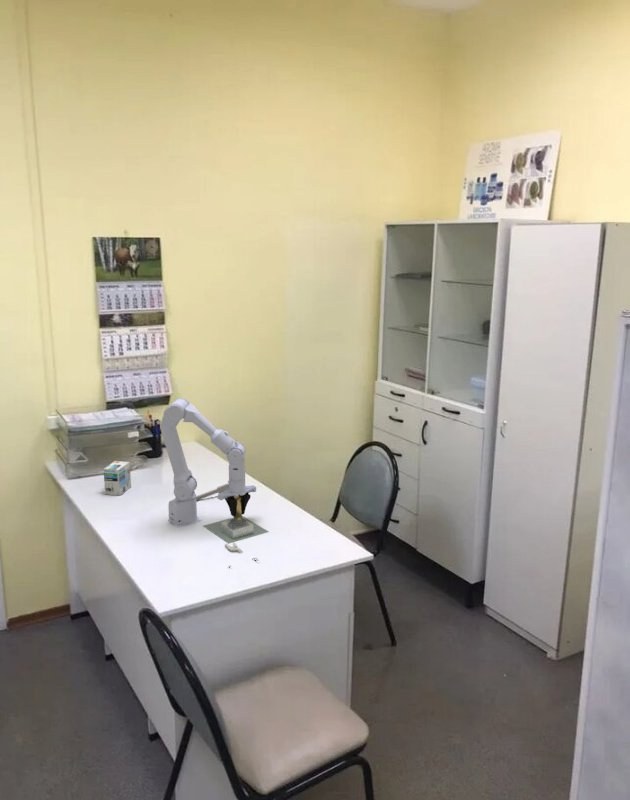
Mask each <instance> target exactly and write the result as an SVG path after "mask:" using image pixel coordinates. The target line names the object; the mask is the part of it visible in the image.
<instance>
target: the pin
mask: <svg viewBox="0 0 630 800" xmlns="http://www.w3.org/2000/svg"><path fill="white" fill-rule="evenodd" d="M234 497H235V499H236V500H237V504H236V516H235V517H233V518H234V519H236V518H240V517H242V516H243V514H242V497H241V496H234Z"/></svg>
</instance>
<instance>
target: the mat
mask: <svg viewBox="0 0 630 800" xmlns="http://www.w3.org/2000/svg"><path fill="white" fill-rule="evenodd" d="M242 518H243V519H245V520H247V521H248V522H250V523H252V524H253V529H254V533H253V534H250V535H246V536H243V537H239V538H236V539H232V538H231V537H229V536H228V535H226V534H225V533H223V532H222V531H221V523H222V522H225V521H229V520H233V519H234V517H230V518H227V519H226V518H225V519H223V520H220V521H216V522H212V523H208V524H205V525H202V527H203V528H204V529H206V530H208V531H209V532H210V533H212V534H214V535H215V536H217V538H219V539H221V540H222V541H223V542H225V543H226V544H228V545H229V544H231V543H232V544H233V543H236V542H239V541H242V540H245V539H249V538H253V537H257V536H260V535H263V534H268V533H269V531H268V530H267V529H265V528H263V527H262V526H261V525H259V524H257V523H255V522H254V521H252V520H250V519H249V518H247V517H246V516H244V515H242Z"/></svg>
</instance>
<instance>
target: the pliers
mask: <svg viewBox="0 0 630 800" xmlns="http://www.w3.org/2000/svg"><path fill="white" fill-rule="evenodd" d="M224 548H225V549H226V550H227V551H228V552H231V553H233V552H234V553H238V554H239V555H240V554H242V553H243V552H244V551H243V550H242V549H241V548H240V547H238V545H237V544H236V542H233V543H232V546H230V545H229V544H228V543H224ZM253 559H254V560H253ZM255 559H256V561H259V559H258V558H257V557H254V558H252V560H253V561H255ZM256 561H255V562H256ZM259 562H260V561H259ZM228 566H229V567H232V565H228ZM229 567H228V568H229Z"/></svg>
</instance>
